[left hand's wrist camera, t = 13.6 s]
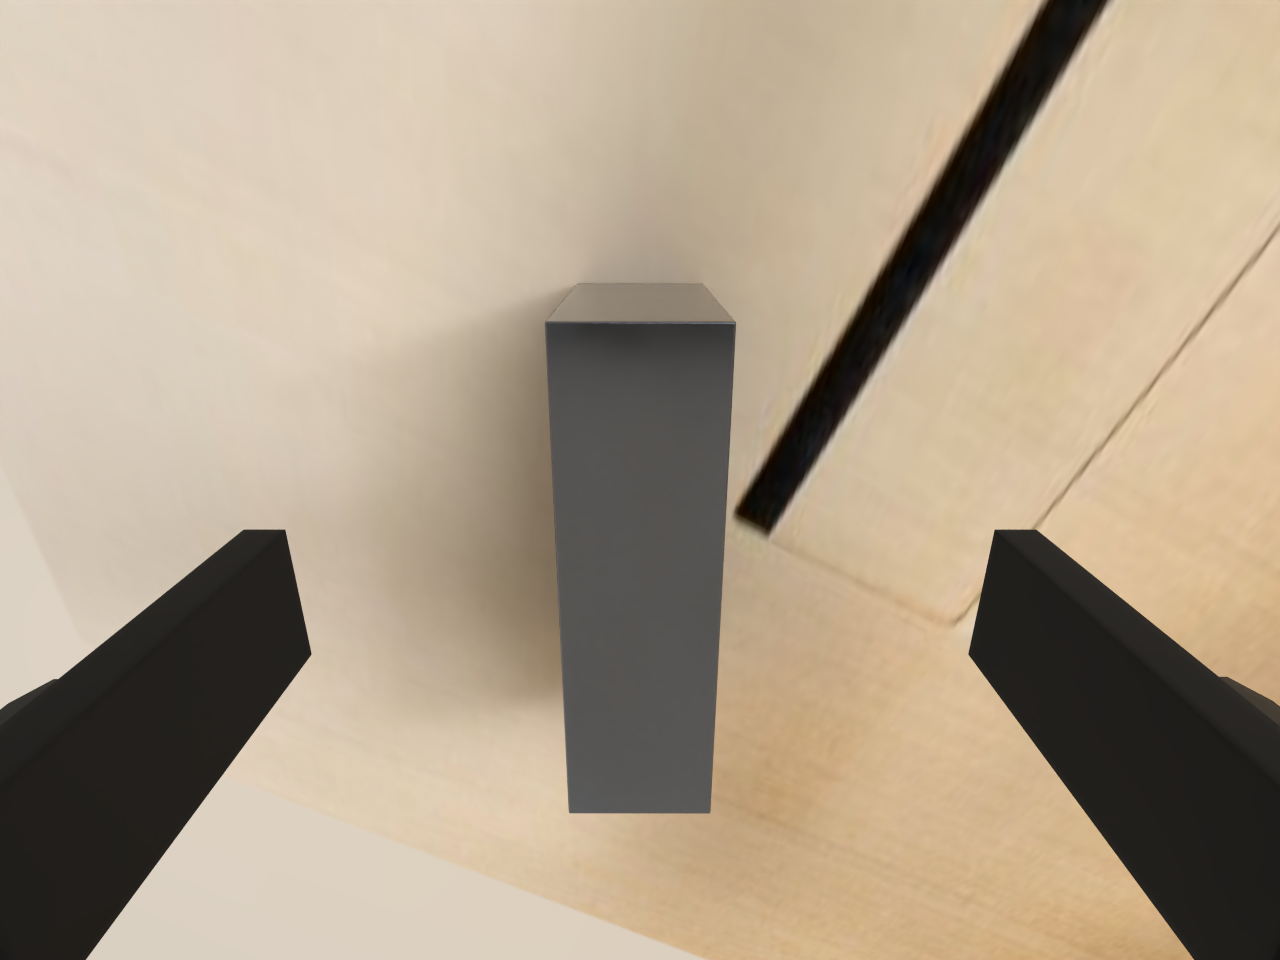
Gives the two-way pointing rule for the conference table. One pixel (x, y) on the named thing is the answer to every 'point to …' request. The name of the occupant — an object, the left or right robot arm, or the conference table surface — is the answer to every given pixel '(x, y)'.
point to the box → (640, 538)
